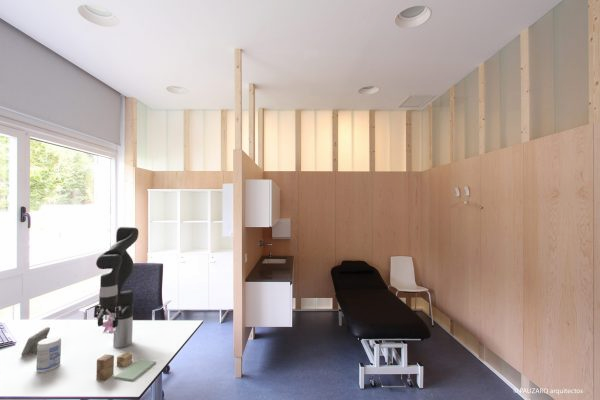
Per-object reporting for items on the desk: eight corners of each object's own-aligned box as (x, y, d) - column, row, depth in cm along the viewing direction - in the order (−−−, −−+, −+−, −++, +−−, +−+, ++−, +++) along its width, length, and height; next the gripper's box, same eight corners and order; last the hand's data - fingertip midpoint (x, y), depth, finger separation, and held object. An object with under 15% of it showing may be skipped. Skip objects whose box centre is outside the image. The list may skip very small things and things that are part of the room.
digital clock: (41, 343, 171) (42, 326, 171) (56, 343, 171) (56, 326, 171) (15, 357, 154) (15, 338, 155) (30, 357, 154) (31, 338, 155)
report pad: (114, 378, 136) (114, 376, 136) (138, 360, 152) (138, 359, 152) (133, 381, 134) (133, 379, 134) (155, 363, 150) (155, 361, 150)
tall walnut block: (96, 379, 135) (96, 359, 135) (105, 373, 140) (105, 354, 140) (104, 381, 134) (105, 360, 134) (113, 374, 139) (113, 355, 139)
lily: (98, 332, 188) (95, 323, 184) (115, 319, 198) (113, 310, 194) (110, 340, 184) (107, 331, 180) (126, 327, 194) (124, 318, 190)
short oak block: (116, 366, 147) (117, 356, 147) (124, 361, 152) (124, 352, 152) (124, 367, 146) (124, 357, 146) (131, 362, 151) (132, 353, 151)
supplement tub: (52, 371, 141) (53, 343, 141) (31, 374, 139) (32, 345, 139) (64, 361, 150) (65, 335, 151) (44, 363, 148) (45, 336, 149)
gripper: (89, 295, 134) (88, 328, 133) (114, 297, 132) (113, 331, 131) (103, 291, 141) (102, 322, 141) (126, 292, 139) (125, 324, 138)
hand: (107, 326), depth 136 cm, fingers open, 8 cm apart
